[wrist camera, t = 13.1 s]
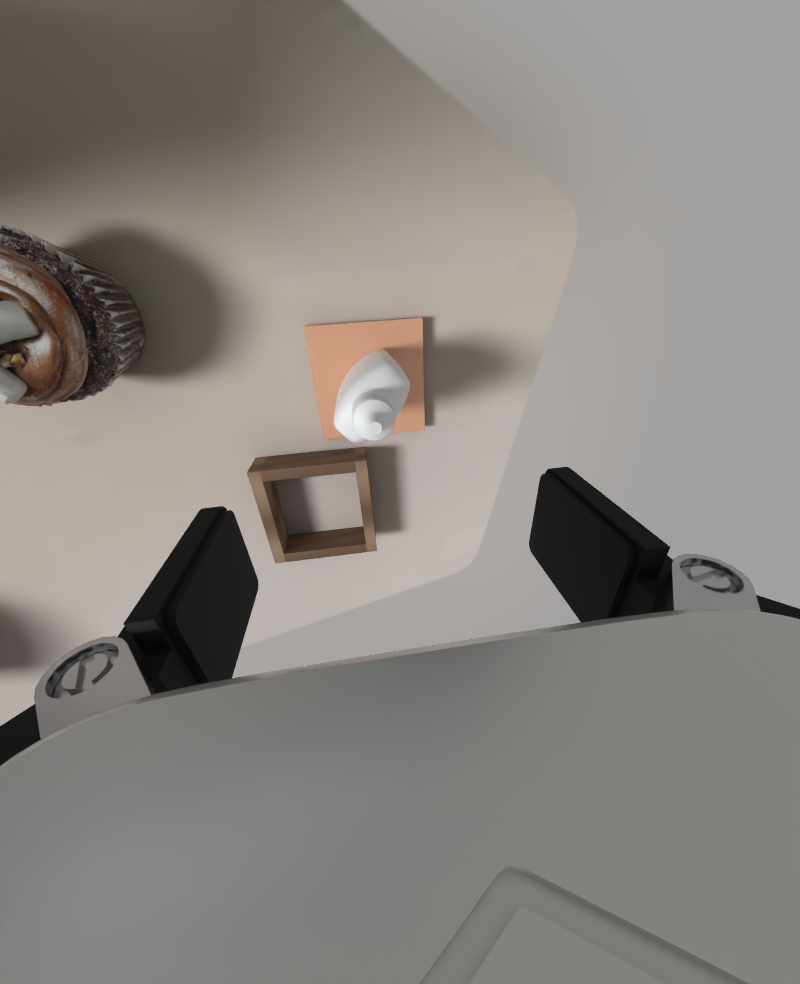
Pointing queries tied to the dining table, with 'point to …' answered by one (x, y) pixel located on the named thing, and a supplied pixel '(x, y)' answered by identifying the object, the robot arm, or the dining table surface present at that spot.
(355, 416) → the eye dropper bottle
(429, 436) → the dining table surface
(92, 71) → the dining table surface
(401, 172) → the dining table surface
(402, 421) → the terracotta tile
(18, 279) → the cupcake
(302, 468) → the walnut holder
